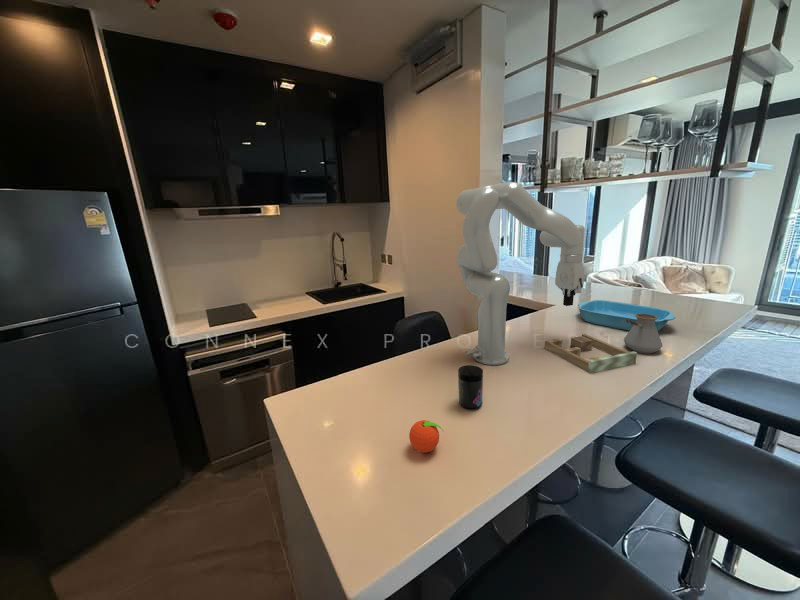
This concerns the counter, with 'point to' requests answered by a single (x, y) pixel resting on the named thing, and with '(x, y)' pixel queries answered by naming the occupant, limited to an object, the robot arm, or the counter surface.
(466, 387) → the supplement container
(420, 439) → the clementine
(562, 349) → the trap box
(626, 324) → the casserole dish
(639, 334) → the coffee pot
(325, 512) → the counter surface
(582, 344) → the walnut block
